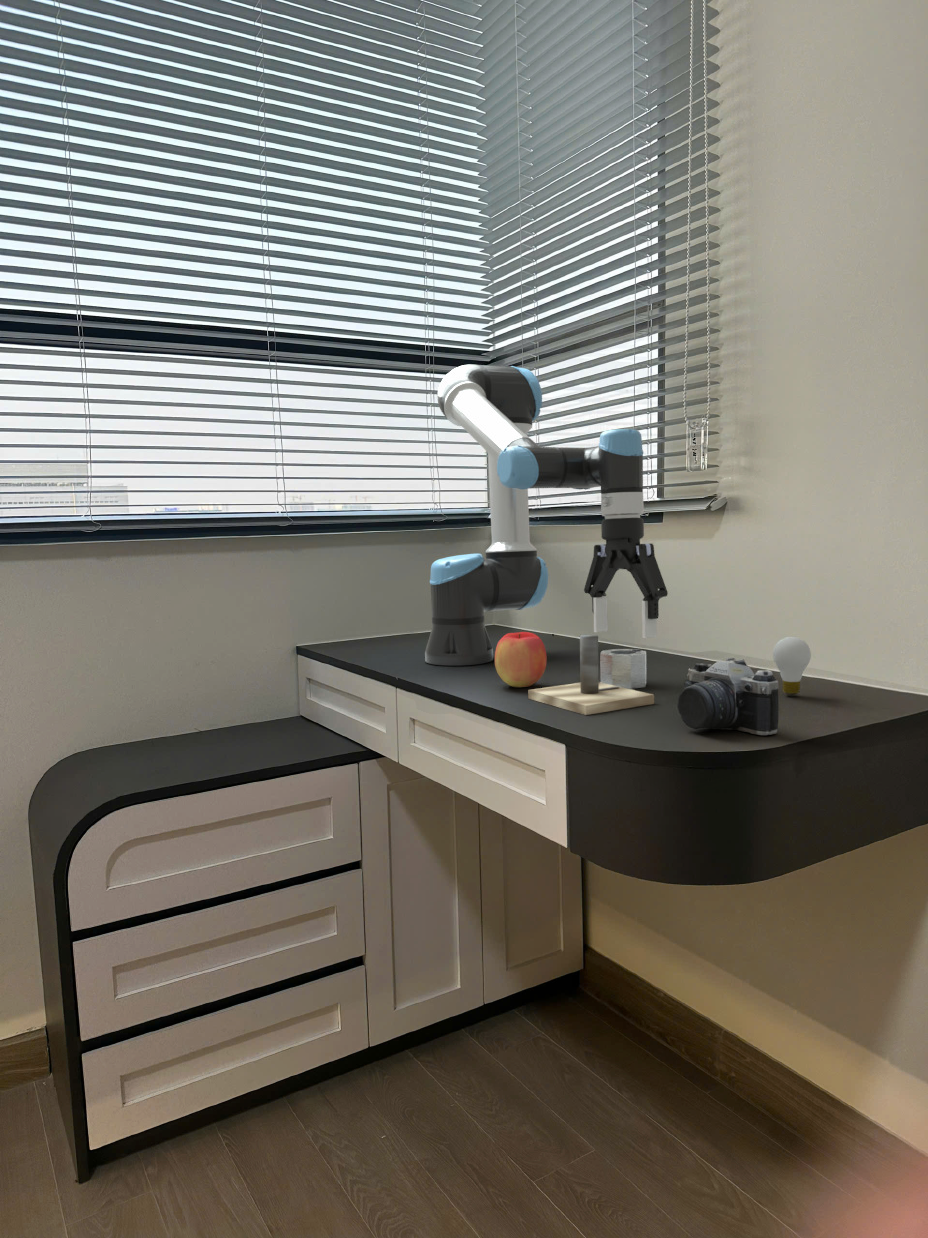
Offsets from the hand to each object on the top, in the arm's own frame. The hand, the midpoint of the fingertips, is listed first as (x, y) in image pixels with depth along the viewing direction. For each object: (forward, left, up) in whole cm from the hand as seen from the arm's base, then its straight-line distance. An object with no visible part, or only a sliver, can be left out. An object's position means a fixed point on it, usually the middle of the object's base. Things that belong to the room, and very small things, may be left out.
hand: (624, 634), depth 157 cm
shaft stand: (+8, -14, -9) cm, 18 cm away
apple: (-10, -16, -10) cm, 21 cm away
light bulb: (+25, +15, -10) cm, 30 cm away
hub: (0, 0, -9) cm, 9 cm away
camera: (+34, -11, -10) cm, 37 cm away
